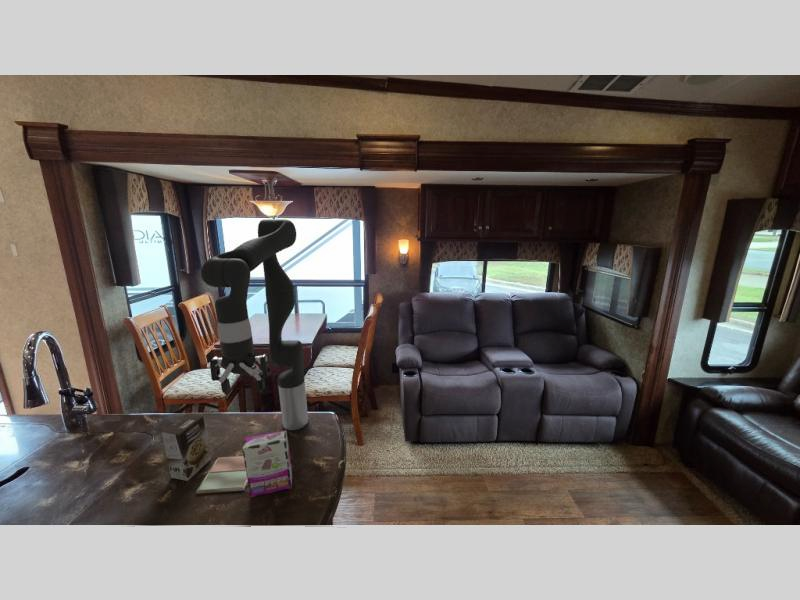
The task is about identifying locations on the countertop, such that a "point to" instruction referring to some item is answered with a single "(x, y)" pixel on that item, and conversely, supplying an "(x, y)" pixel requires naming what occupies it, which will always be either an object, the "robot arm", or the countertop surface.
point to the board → (225, 476)
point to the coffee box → (186, 447)
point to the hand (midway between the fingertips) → (244, 391)
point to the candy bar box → (267, 463)
